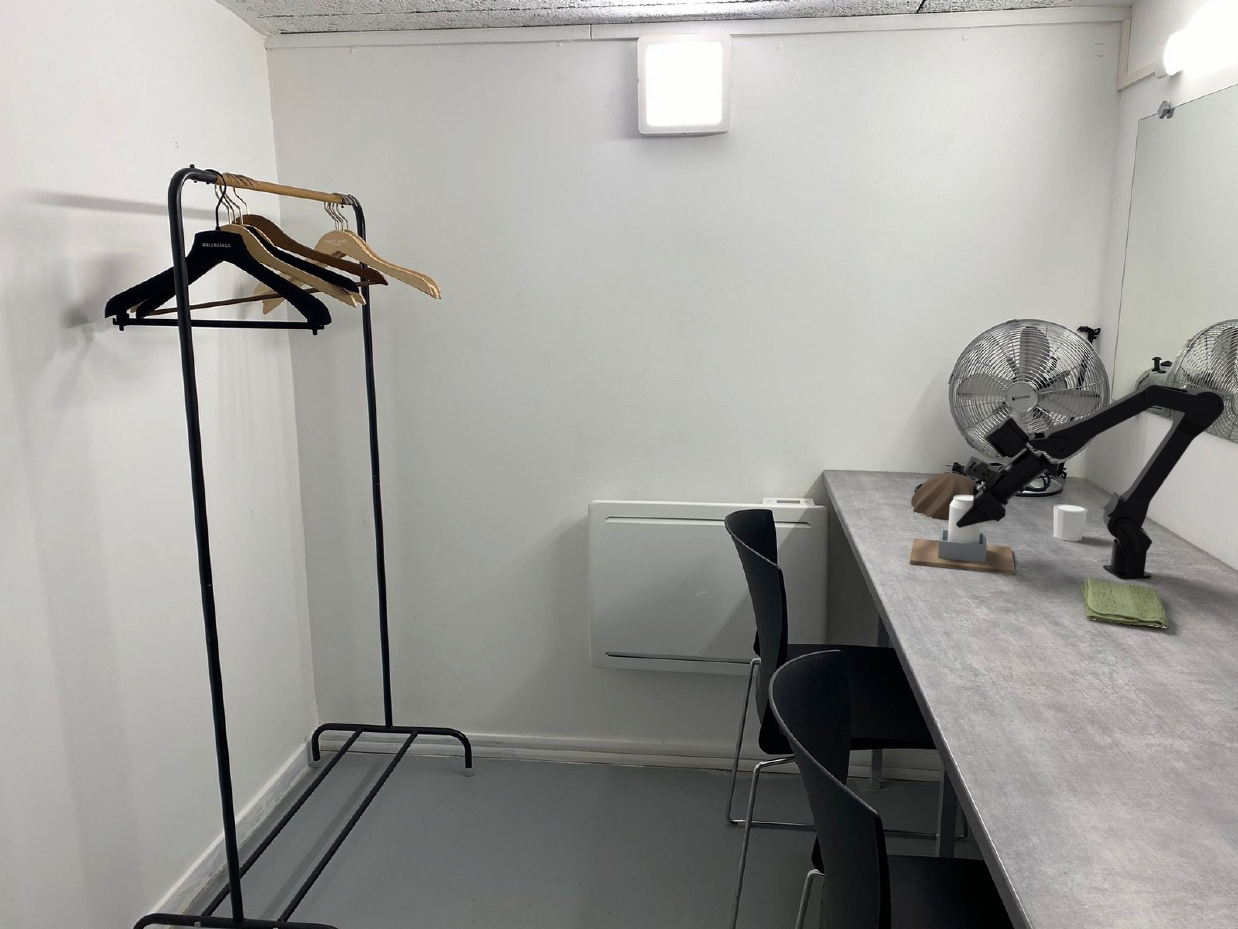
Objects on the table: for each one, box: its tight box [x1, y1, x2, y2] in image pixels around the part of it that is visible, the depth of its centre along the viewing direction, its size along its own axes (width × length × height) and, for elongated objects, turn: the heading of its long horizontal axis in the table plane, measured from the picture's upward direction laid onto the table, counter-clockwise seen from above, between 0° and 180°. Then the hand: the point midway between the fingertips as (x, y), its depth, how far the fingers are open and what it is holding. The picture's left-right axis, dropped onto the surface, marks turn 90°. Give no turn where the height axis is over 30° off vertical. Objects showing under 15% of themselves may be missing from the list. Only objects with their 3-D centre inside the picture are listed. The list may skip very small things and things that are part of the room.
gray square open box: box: [938, 528, 988, 562], centre depth 188 cm, size 9×9×4 cm
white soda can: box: [947, 495, 981, 544], centre depth 187 cm, size 6×6×12 cm
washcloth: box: [1080, 578, 1170, 628], centre depth 159 cm, size 13×18×3 cm
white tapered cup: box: [1053, 503, 1088, 542], centre depth 201 cm, size 7×7×7 cm
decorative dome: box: [910, 472, 979, 521], centre depth 223 cm, size 19×20×10 cm
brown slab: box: [909, 537, 1016, 575], centre depth 189 cm, size 20×16×1 cm
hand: (957, 521), depth 188 cm, fingers closed on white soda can, 6 cm apart
